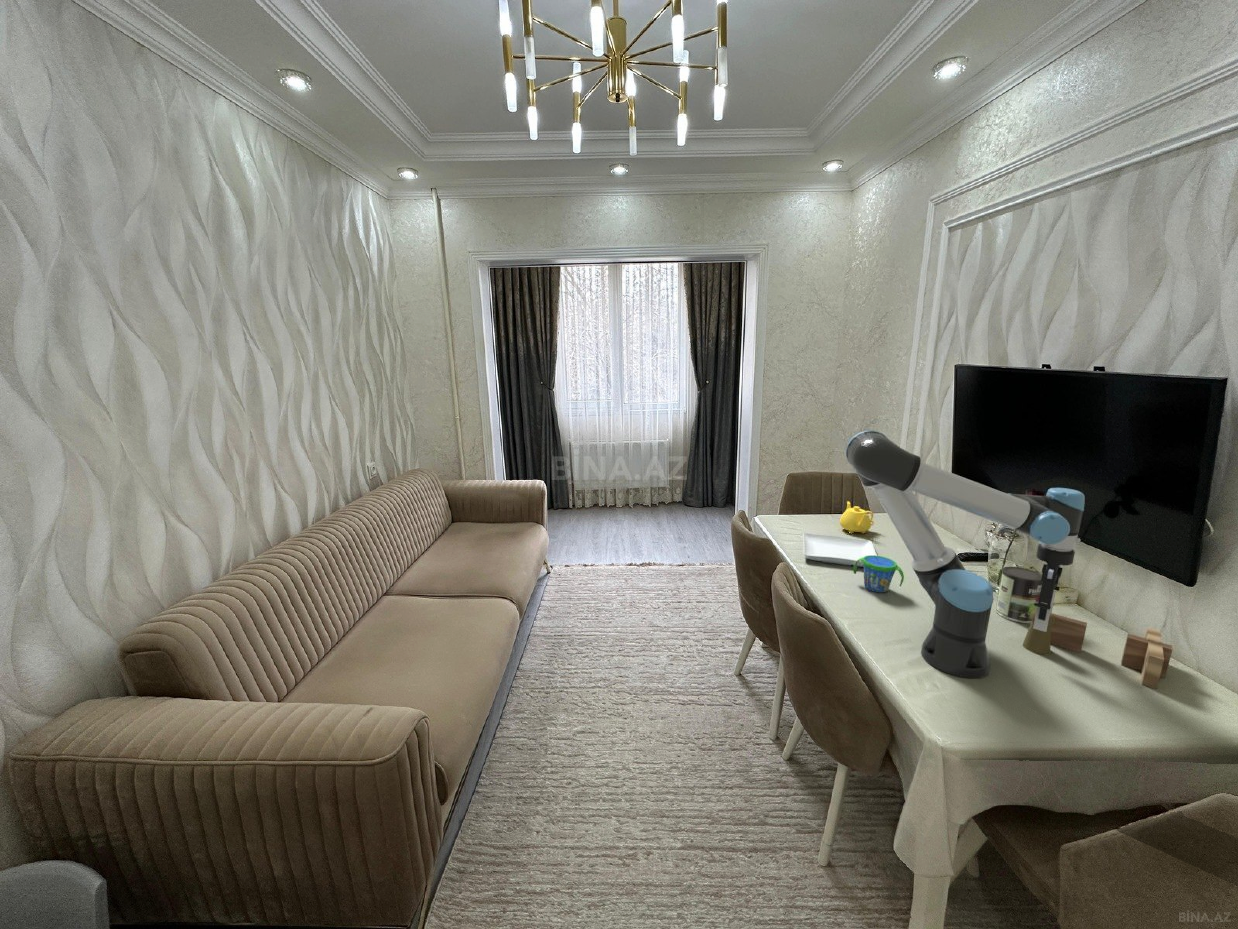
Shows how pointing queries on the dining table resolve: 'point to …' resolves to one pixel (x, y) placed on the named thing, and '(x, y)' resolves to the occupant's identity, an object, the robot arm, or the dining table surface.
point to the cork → (1038, 637)
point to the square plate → (836, 549)
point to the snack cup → (878, 572)
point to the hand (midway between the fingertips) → (1042, 620)
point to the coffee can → (1018, 593)
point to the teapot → (856, 519)
